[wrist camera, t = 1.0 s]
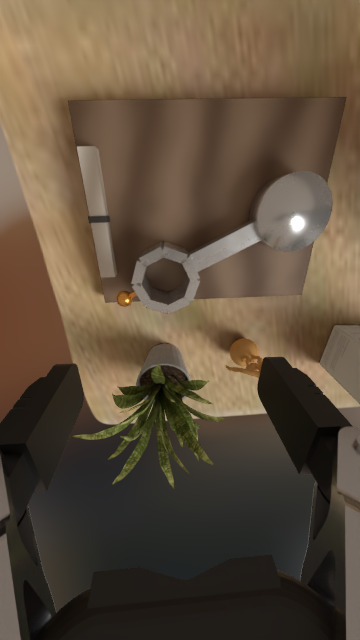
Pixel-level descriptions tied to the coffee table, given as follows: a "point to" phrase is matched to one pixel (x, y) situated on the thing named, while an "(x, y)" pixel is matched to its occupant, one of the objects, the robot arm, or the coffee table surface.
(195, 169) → the stand base
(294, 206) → the baby rattle
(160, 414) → the house plant
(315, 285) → the coffee table surface
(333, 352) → the supplement box
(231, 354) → the figurine
